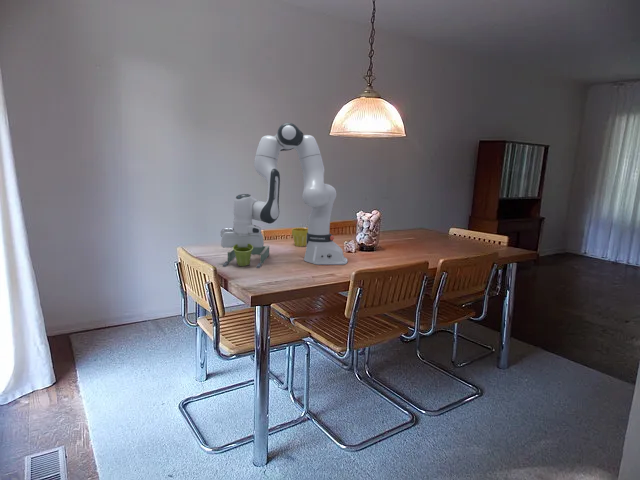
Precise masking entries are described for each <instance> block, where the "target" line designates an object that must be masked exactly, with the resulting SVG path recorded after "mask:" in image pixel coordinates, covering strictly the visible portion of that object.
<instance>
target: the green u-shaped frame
mask: <svg viewBox="0 0 640 480" xmlns="http://www.w3.org/2000/svg"><path fill="white" fill-rule="evenodd" d="M251 255H260V259H259V260H260V262H259V263H262V265H263V264H264V262H265V261H266V260H267V258H268V257H269V255H270V245H264V246H263V247H253V250H252V252H251ZM234 259H236V255H235V252H234V250H233V248H231V249H229V250H228V251H227V262H229V263H231V262H232V261H233V260H234Z"/></svg>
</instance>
